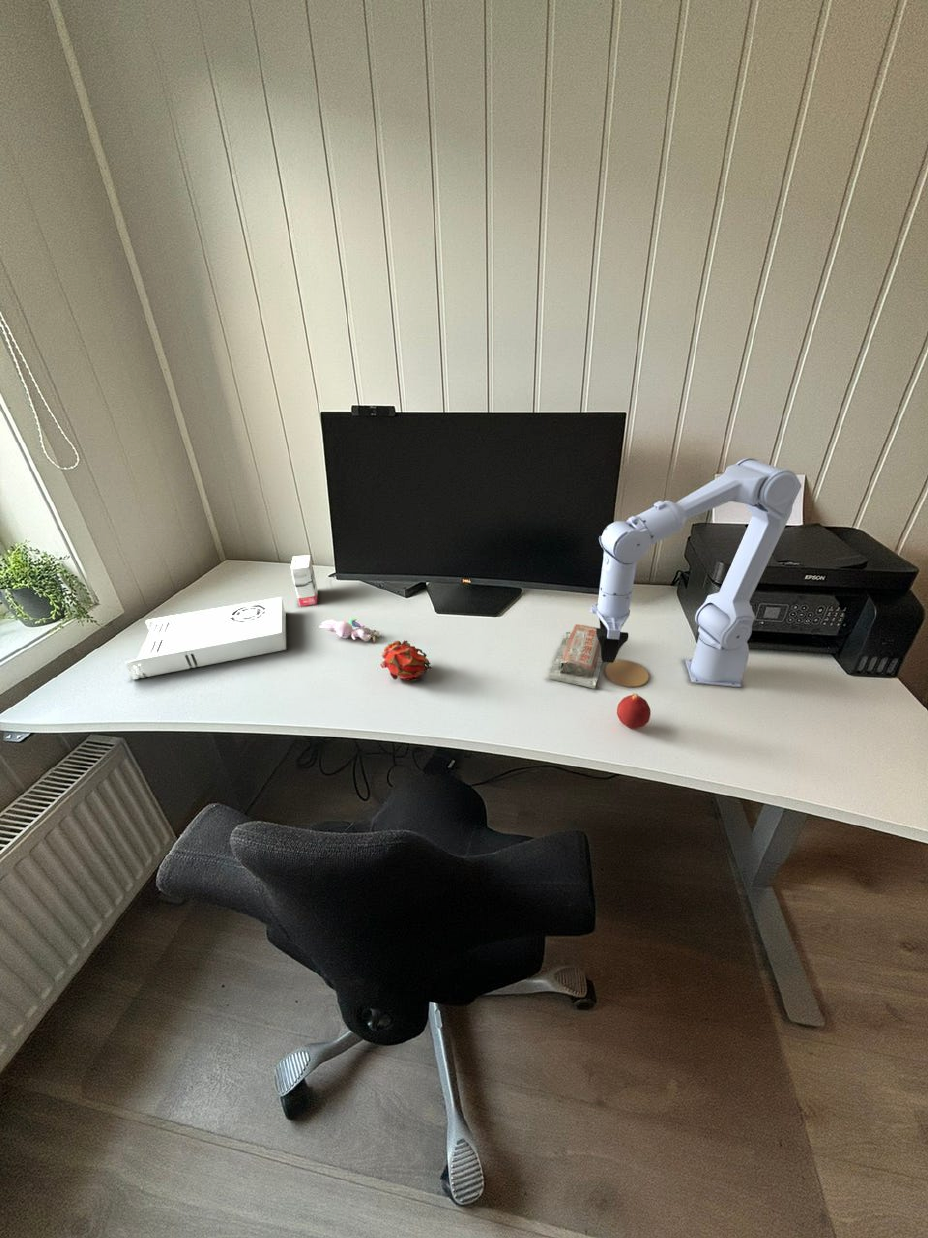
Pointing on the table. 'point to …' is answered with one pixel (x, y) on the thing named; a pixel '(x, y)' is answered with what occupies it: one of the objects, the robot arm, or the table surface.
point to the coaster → (626, 673)
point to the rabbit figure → (349, 629)
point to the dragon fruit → (404, 661)
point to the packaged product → (578, 658)
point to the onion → (633, 711)
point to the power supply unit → (211, 637)
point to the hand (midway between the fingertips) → (606, 649)
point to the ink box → (304, 580)
